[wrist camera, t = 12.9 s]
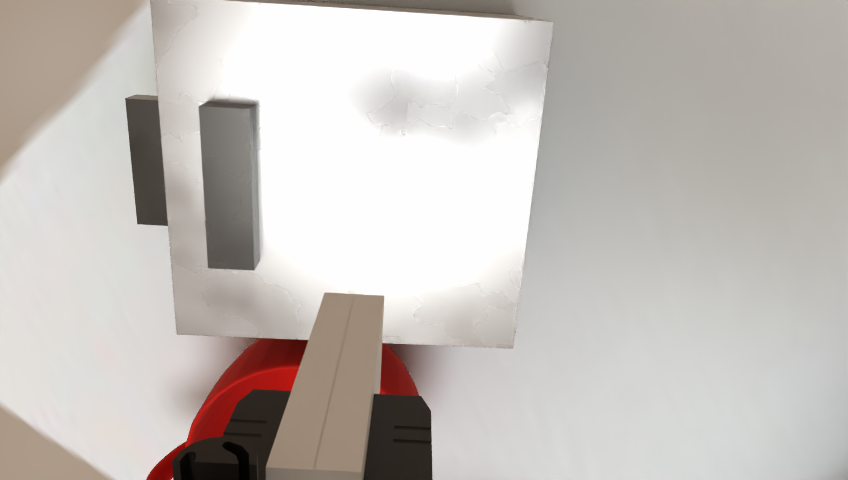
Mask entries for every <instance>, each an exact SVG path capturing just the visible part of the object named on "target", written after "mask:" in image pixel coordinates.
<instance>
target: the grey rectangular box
mask: <svg viewBox="0 0 848 480" xmlns="http://www.w3.org/2000/svg"><path fill="white" fill-rule="evenodd" d="M236 1H251V2H266V3H282V4H297V5H312V6H327V7H343V8H358V9H373V10H388V11H404V12H419V13H434V14H449V15H465V16H480V17H495V18H510V19H526V20H540V19H535V18H530V17H525V16H519V15H510V14H495V13H480V12H465V11H450V10H434V9H419V8H404V7H389V6H374V5H359V4H344V3H329V2H313V1H298V0H236ZM541 21H545V20H541ZM125 100H126V110H127V121H128V131H129V141H130V152H131V162H132V173H133V183H134V193H135V204H136V214H137V224H145V225H164V226H168V218H167V205H166V193H165V180H164V167H163V155H162V142H161V129H160V117H159V104H158V96H150V95H134V96H131V97H128V98H125Z"/></svg>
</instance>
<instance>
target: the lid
mask: <svg viewBox="0 0 848 480" xmlns="http://www.w3.org/2000/svg"><path fill="white" fill-rule="evenodd" d="M150 3H151V15H152V28H153V41H154V53H155V66H156V79H157V91H158V104H159V117H160V129H161V142H162V155H163V167H164V180H165V193H166V205H167V218H168V231H169V243H170V256H171V269H172V281H173V294H174V307H175V319H176V332H177V334H178V335H202V336H226V337H250V338H274V339H298V340H309V337H310V334H311V331H312V328H313V326H314V323H315V320H316V317H317V314H318V311H319V308H320V305H321V302H322V299H323V296H324V293H325V292H327V293H345V294H363V295H381V296H384V314H383V336H382V343H393V344H417V345H441V346H465V347H489V348H513V344H514V336H515V328H516V320H517V312H518V304H519V296H520V288H521V280H522V272H523V264H524V256H525V248H526V240H527V232H528V224H529V216H530V208H531V200H532V192H533V184H534V176H535V168H536V160H537V152H538V144H539V136H540V128H541V121H542V113H543V105H544V97H545V89H546V81H547V73H548V65H549V57H550V49H551V41H552V33H553V25H554V22H551V21H541V20H526V19H510V18H495V17H480V16H465V15H449V14H434V13H419V12H404V11H388V10H373V9H358V8H343V7H327V6H312V5H297V4H282V3H266V2H251V1H236V0H150Z"/></svg>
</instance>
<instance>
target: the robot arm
mask: <svg viewBox="0 0 848 480" xmlns="http://www.w3.org/2000/svg"><path fill="white" fill-rule="evenodd" d="M383 314H384V296H381V295H363V294H345V293H327V292H325V293H324V296H323V299H322V302H321V305H320V308H319V311H318V314H317V317H316V320H315V323H314V326H313V328H312V331H311V334H310V337H309V340H308V343H307V346H306V349H305V352H304V355H303V358H302V361H301V364H300V367H299V370H298V373H297V376H296V379H295V382H294V385H293V388H292V391H281V390H262V389H253V390H252V391H251V392H250V393H248V394H247V395H246V396H245V397H244V398H242V399H241V400H240V401H239V402H238V403H237V404H236V407H235V409H234V411H233V413H232V415H231V417H230V421H229V422H228V424H227V426H226V428H225V430H224V433H223V436H222V437H210V438H207V439H204V440H200V441H197V442H194V443H192V444H191V445H189V446H187V447H186V448H184V449H182V450H181V451H180V452H179V453H178V454H177V455H176V457H175V458H174V459H173V460H172V468H173V479H174V480H432V445H431V442H432V440H431V410H430V409H429V407H428V406H427V404H426V403H425V402H424V400H423V399H422V397H421V396H409V395H390V394H380V380H381V358H382V336H383Z"/></svg>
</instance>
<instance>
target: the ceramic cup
mask: <svg viewBox="0 0 848 480" xmlns="http://www.w3.org/2000/svg"><path fill="white" fill-rule="evenodd" d="M307 343H308V340H298V339H274V338H261V339H260V340H258V341H257V342H255V343H254V344H252V345H251V346H250V347H248V348H247V349H246V350H245V351H244V352H243V353H242V354H241V355H240V356H239V357H238V358H237V359H236V360H235V361H234V362H233V363H232V364H231V366H230V367H229V368H228V369H227V370H226V371H225V372H224V374H223V375H222V376H221V378H220V379H219V380H218V382H217V383H216V385H215V386H214V388H213V389H212V391H211V392H210V394H209V395H208V397H207V399H206V400H205V402H204V404H203V405H202V407H201V409H200V410H199V412H198V414H197V415H196V417H195V419H194V420H193V423H192V425H191V428H190V432H189V435H188V438H187V441H186V442H184V443H183V444H181V445H180V446H178V447H177V448H175V449H174V450H173V451H171V452H170V453H169V454H168V455H166V456H165V457H164V458H163V459H162V460H161V461H160V462H159V463H158V464H157V465H156V466H155V467H154V468H153V469H152V471H151V472H150V474H149V475H148V477H147V479H146V480H171V479H172V478H173V468H172V460H173V459H174V458H175V457H176V455H177V454H178V453H179V452H180V451H181V450H182V449H184V448H186V447H187V446H189V445H191V444H192V443H194V442H197V441H200V440H204V439H207V438H210V437H222V436H223V433H224V430H225V428H226V426H227V424H228V422H229V421H230V417H231V415H232V413H233V411H234V409H235V407H236V404H237V403H238V402H239V401H240V400H241V399H242V398H244V397H245V396H246V395H247V394H248V393H250V392H251V391H252V390H253V389H262V390H281V391H292V388H293V385H294V382H295V379H296V376H297V373H298V370H299V367H300V364H301V361H302V358H303V355H304V352H305V349H306V346H307ZM380 394H390V395H409V396H419V394H418V391H417V388H416V386H415V384H414V382H413V380H412V378H411V376H410V374H409V372H408V371H407V369H406V367H405V365H404V364H403V362H402V361H401V360H400V359H399V357H398V356H397V355H396V354H395V353H394V352H393V350H392V349H391V348H390V347H389V346H388V345H386V344H385V343H382V358H381V380H380Z"/></svg>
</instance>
